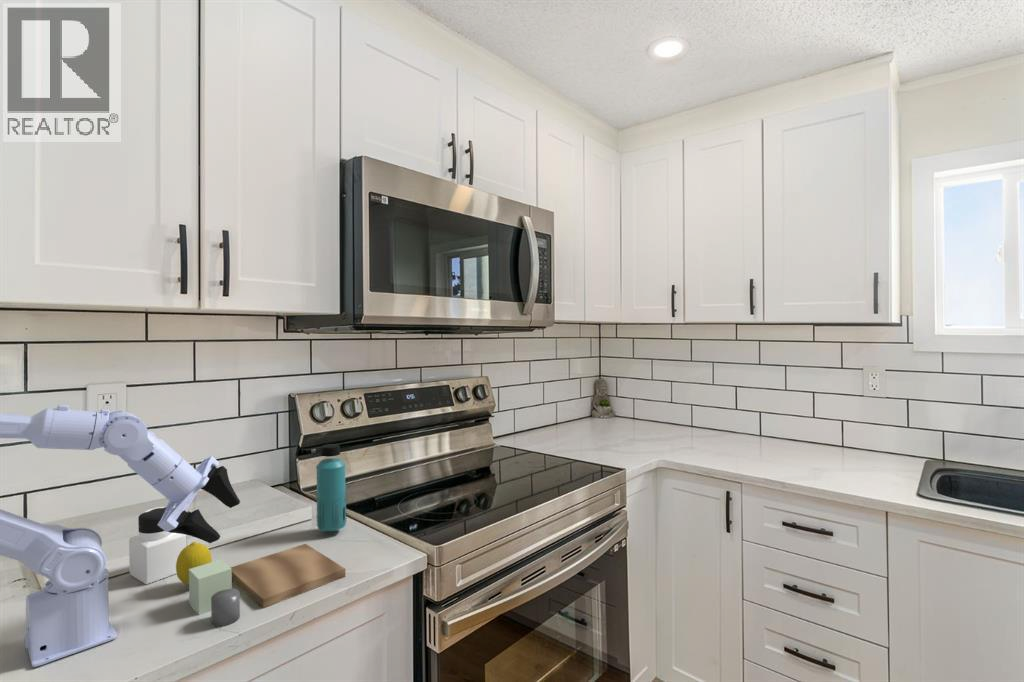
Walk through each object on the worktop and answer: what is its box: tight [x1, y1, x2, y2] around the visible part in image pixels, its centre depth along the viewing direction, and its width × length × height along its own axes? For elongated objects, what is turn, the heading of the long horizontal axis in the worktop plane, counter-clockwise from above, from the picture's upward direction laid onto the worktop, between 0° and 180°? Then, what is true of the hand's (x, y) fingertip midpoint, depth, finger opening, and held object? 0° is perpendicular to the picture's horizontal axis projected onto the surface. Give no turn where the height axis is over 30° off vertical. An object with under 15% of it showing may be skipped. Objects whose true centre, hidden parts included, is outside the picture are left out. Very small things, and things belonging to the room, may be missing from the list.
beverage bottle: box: [315, 443, 348, 532], centre depth 119 cm, size 6×7×20 cm
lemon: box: [176, 541, 213, 585], centre depth 95 cm, size 6×6×8 cm
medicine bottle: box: [128, 506, 188, 585], centre depth 100 cm, size 7×7×12 cm
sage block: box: [188, 559, 233, 616], centre depth 89 cm, size 5×5×6 cm
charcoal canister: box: [210, 588, 241, 628], centre depth 84 cm, size 4×4×4 cm
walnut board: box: [229, 543, 346, 609], centre depth 99 cm, size 15×16×2 cm
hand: (225, 521), depth 91 cm, fingers open, 7 cm apart
